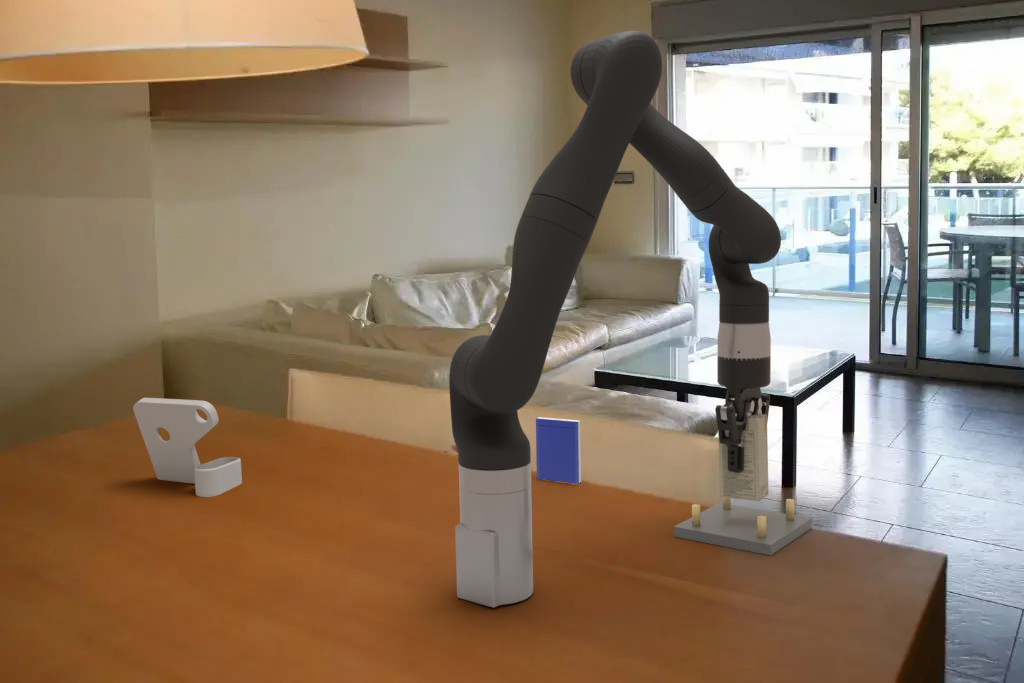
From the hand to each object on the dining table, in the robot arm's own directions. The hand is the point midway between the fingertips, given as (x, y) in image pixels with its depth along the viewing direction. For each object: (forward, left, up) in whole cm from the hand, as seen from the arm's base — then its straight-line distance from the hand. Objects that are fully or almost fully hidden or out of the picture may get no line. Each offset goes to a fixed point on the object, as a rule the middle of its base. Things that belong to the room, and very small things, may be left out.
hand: (743, 467), depth 143 cm
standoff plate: (0, 0, -10) cm, 10 cm away
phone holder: (-35, +88, -10) cm, 95 cm away
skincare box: (0, 0, -5) cm, 5 cm away
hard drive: (+5, +37, -10) cm, 39 cm away
